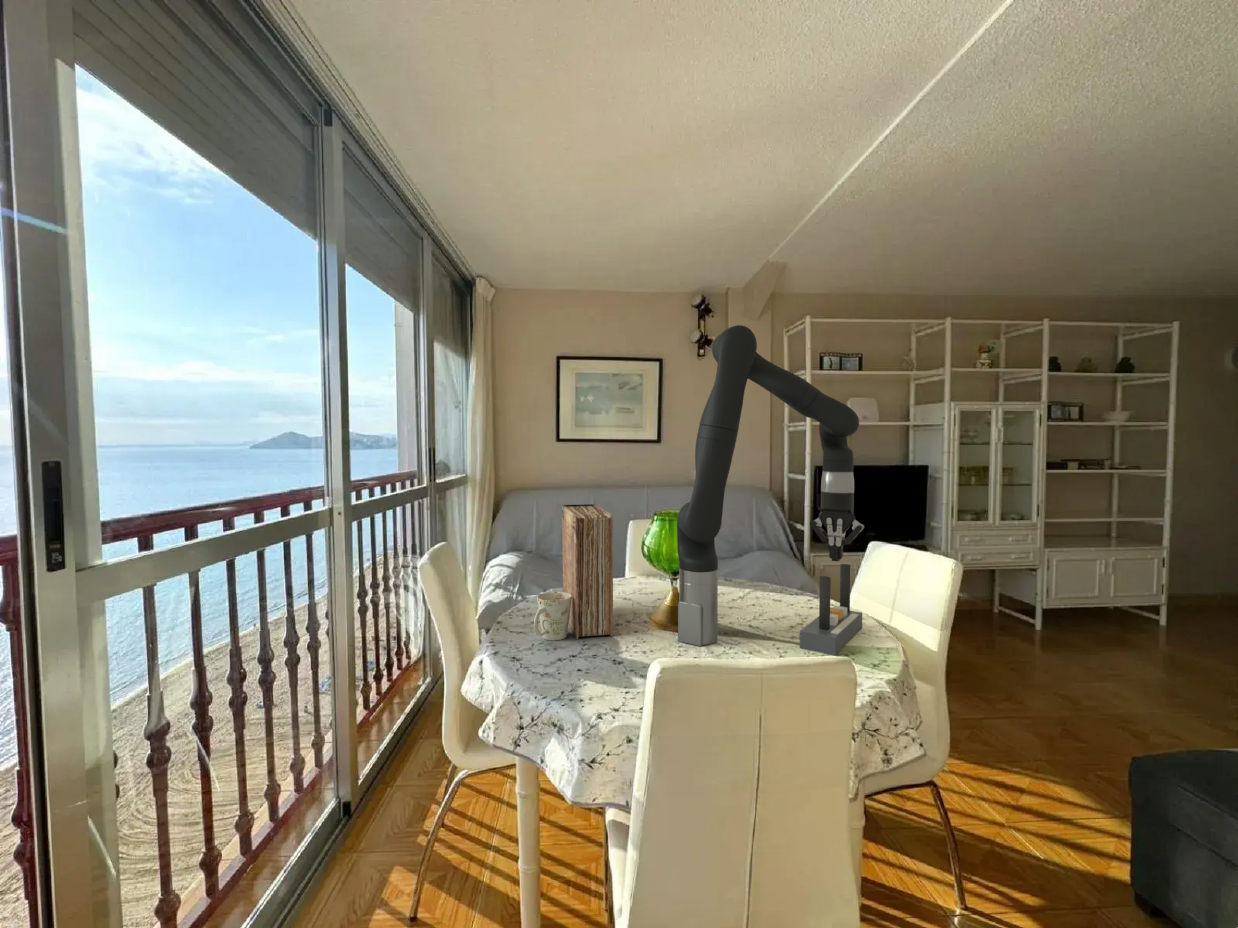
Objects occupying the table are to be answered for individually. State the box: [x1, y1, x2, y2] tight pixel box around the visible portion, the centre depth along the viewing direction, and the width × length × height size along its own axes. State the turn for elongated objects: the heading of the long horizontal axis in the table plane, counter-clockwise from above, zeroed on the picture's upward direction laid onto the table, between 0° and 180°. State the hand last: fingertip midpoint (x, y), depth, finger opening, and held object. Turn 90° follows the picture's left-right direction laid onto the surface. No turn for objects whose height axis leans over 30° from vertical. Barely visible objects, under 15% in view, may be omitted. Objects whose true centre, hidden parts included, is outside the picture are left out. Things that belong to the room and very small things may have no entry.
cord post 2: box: [839, 563, 851, 613], centre depth 153 cm, size 2×2×12 cm
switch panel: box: [799, 605, 863, 656], centre depth 144 cm, size 24×8×6 cm, turn 144°
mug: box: [533, 591, 571, 641], centre depth 143 cm, size 8×13×10 cm, turn 155°
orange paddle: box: [830, 607, 843, 620], centre depth 146 cm, size 2×3×2 cm
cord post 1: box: [818, 575, 832, 630], centre depth 139 cm, size 2×2×12 cm
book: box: [561, 503, 614, 641], centre depth 156 cm, size 25×9×30 cm, turn 13°
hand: (836, 560), depth 145 cm, fingers closed
